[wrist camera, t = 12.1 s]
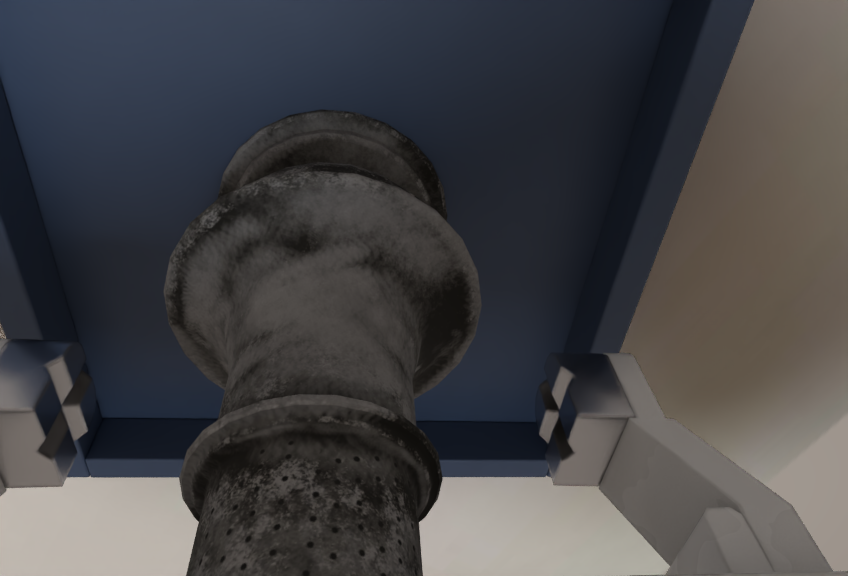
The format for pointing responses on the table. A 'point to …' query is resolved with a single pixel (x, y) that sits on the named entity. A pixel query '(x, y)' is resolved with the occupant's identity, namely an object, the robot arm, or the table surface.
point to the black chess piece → (319, 349)
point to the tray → (373, 97)
